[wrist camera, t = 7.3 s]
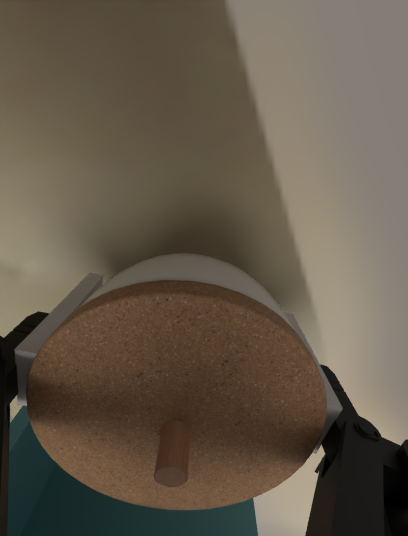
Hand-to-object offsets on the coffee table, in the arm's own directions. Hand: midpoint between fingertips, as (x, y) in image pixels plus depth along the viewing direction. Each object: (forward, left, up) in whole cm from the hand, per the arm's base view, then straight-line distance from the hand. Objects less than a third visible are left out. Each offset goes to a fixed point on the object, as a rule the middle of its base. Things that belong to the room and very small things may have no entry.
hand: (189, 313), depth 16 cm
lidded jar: (0, 0, -1) cm, 1 cm away
